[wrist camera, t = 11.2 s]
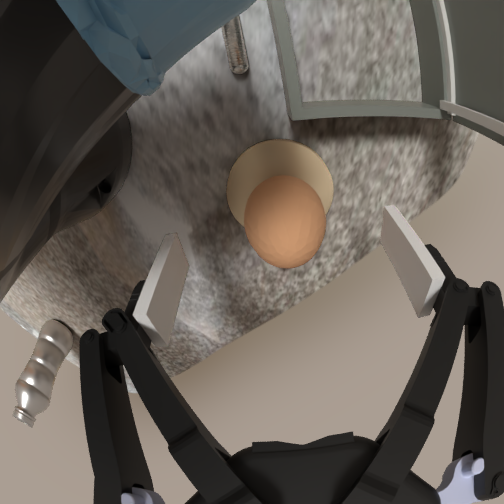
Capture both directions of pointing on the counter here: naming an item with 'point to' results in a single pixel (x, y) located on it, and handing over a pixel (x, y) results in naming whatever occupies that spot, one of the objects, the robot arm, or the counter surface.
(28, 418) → the plastic bottle
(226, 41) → the rod
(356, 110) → the grey hinged box
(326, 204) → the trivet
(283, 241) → the egg
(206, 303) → the counter surface
